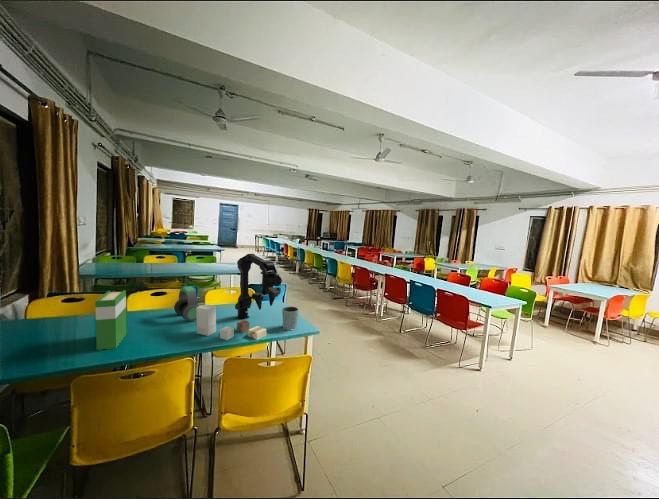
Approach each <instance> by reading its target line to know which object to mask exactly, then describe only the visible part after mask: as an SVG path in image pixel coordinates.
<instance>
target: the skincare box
mask: <svg viewBox="0 0 659 499" xmlns="http://www.w3.org/2000/svg"><path fill="white" fill-rule="evenodd" d="M216 308H217V307H216V305H211V304H202V305H199V307H196V311H197V319H196V334H197V335H202V336H207V337H209V336H211V335H213V334H216V333H217V315H216V314H217V311H216V310H217V309H216Z"/></svg>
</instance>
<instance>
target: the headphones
mask: <svg viewBox="0 0 659 499" xmlns="http://www.w3.org/2000/svg"><path fill="white" fill-rule="evenodd" d="M197 298H198V297H197V293H196V290H195V288H194V286H183V287H181V288H180V289H179V293H178V300H176V302H175V303H174V304H173V305H174V306H173V309H174V312H175V313H176V314H177V315H179V316H181V317H182V318H183V319H184V320H185V321H188V322H194V321H197V311H196V307H199V306H200V305H199V304H198V299H197Z"/></svg>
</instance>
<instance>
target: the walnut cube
mask: <svg viewBox="0 0 659 499" xmlns="http://www.w3.org/2000/svg"><path fill="white" fill-rule="evenodd" d="M249 329H250V321H248V320H246V319H243V320H240V321H236V331H238V332H241V333H245V332H248V330H249Z"/></svg>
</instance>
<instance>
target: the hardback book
mask: <svg viewBox="0 0 659 499" xmlns="http://www.w3.org/2000/svg"><path fill="white" fill-rule="evenodd" d="M126 292H127V290H126V289H125V290H122V291H115V292H113V291H112V292H111V290H108V291H106V292H105V293H104V294H102V295H101V296H100V297H99V298H97V299H96V300H95V301H94V302H95V304H94V305H95V340H96V341H95V343H96V351H97V350H98V351H103V350H102V349H107V350H115V349H114V348H116V349H117V348H118V347H119V345H120V344H121V342H122V341H123V339H124V338H123V337H125V336H126V335H127V334H126V333H127V293H126ZM121 340H122V341H121ZM119 343H120V344H119ZM117 346H118V347H117Z"/></svg>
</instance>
